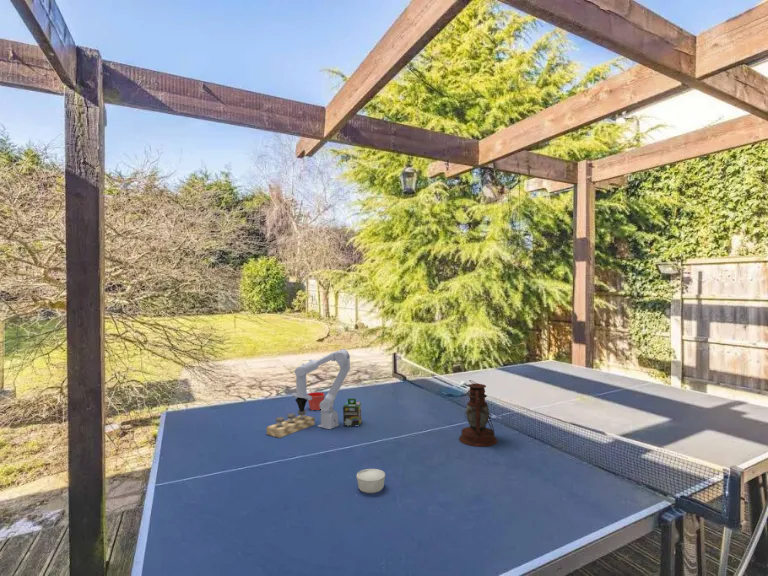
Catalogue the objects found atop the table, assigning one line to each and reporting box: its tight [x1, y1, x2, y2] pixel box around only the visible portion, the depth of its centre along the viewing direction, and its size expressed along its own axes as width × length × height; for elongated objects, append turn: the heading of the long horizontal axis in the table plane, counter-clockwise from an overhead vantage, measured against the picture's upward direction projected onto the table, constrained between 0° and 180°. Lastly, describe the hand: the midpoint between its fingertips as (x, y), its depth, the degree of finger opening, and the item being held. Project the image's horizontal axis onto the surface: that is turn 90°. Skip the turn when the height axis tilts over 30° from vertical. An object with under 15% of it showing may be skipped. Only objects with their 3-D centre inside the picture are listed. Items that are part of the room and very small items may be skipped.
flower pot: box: [307, 391, 326, 411], centre depth 276 cm, size 11×11×10 cm
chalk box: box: [342, 398, 363, 427], centre depth 244 cm, size 9×9×15 cm
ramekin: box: [356, 468, 386, 494], centre depth 165 cm, size 11×11×5 cm
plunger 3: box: [297, 409, 307, 419], centre depth 243 cm, size 4×4×5 cm
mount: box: [266, 414, 316, 439], centre depth 236 cm, size 26×10×4 cm, turn 145°
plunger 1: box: [275, 416, 285, 427], centre depth 230 cm, size 4×4×5 cm
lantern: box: [458, 379, 498, 448], centre depth 215 cm, size 19×19×30 cm
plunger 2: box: [286, 412, 296, 423], centre depth 236 cm, size 4×4×5 cm
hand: (301, 411), depth 243 cm, fingers closed
